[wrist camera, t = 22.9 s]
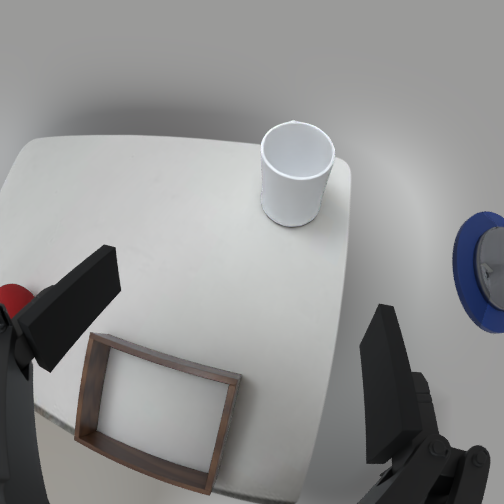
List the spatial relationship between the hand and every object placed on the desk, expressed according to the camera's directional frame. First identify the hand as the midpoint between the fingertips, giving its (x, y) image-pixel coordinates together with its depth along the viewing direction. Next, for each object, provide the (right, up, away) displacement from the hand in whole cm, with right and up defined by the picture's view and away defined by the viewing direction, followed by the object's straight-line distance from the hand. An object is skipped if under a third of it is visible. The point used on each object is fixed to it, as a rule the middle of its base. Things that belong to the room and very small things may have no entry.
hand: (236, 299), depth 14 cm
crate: (-12, -19, +20) cm, 30 cm away
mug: (+6, +11, +28) cm, 31 cm away
